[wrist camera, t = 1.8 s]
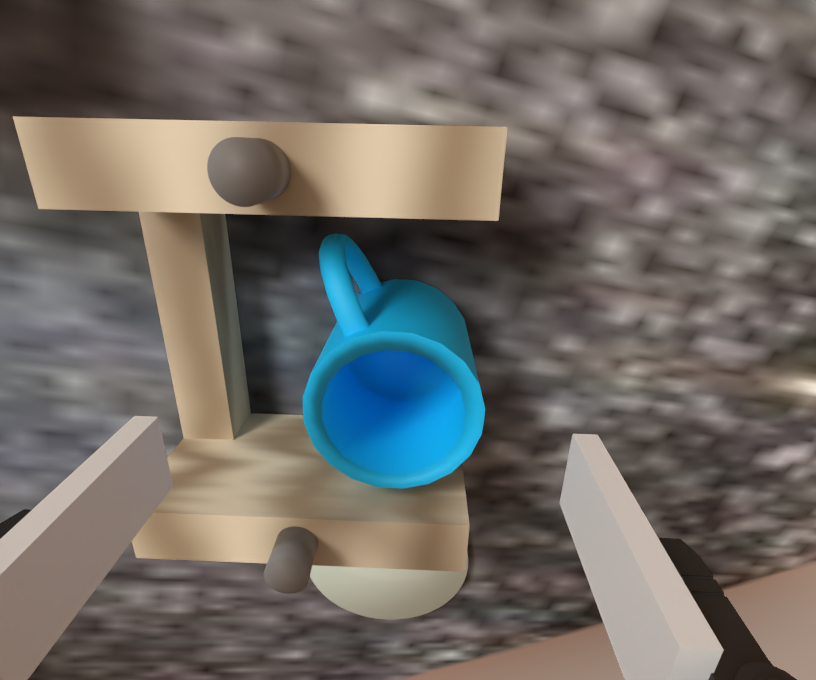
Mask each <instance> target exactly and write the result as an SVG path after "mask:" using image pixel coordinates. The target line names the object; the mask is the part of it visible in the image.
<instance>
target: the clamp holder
mask: <svg viewBox="0 0 816 680" xmlns="http://www.w3.org/2000/svg"><path fill="white" fill-rule="evenodd" d="M13 120H14V123H15V127H16V130H17V134H18V137H19V141H20V145H21V148H22V152H23V155H24V159H25V162H26V166H27V170H28V173H29V177H30V180H31V184H32V187H33V191H34V194H35V198H36V202H37V205H38V209H61V210H99V211H138V212H139V216H140V221H141V226H142V231H143V236H144V241H145V246H146V251H147V256H148V261H149V266H150V271H151V276H152V281H153V286H154V291H155V296H156V301H157V306H158V311H159V316H160V321H161V326H162V331H163V336H164V341H165V346H166V351H167V356H168V361H169V366H170V371H171V376H172V381H173V386H174V391H175V396H176V401H177V406H178V411H179V416H180V422H181V427H182V432H183V437H184V439H183V440H182V441H181V442H180V443H179V445H178V446H177V447H176V448H175V449H174V451H173V452H172V453H171V454H170V456H169V457H168V458H167V460H168V465H169V469H170V474H171V478H172V483H173V487H172V488H171V489H170V491H169V492H168V493H167V495H166V496H165V497H164V499H163V500H162V501H161V503H160V504H159V505H158V507H157V508H156V509H155V511H154V512H153V513H152V515H151V516H150V517H149V519H148V520H147V521H146V523H145V524H144V525H143V527H142V528H141V529H140V531H139V532H138V533H137V535H136V536H135V537H134V539H133V540H132V544H133V547H134V551H135V555H136V558H153V559H177V560H200V561H223V562H246V563H267V565H266V568H265V571H264V580H265V582H266V583H267V584H268V586H270V587H271V588H272V589H274V590H276V591H278V592H281V593H296V592H299V591H301V590H303V589H304V588H305V587H306V586H307V584H308V580H309V576H310V573H311V569H312V565H316V566H340V567H363V568H386V569H409V570H433V571H456V572H465V569H466V558H467V547H468V537H469V526H470V525H469V516H468V508H467V500H466V491H465V483H464V475H463V466H462V464H461V465H460V466H458V467H457V468H456V469H455V470H454V471H453V472H452V473H450V474H448V475H446V476H444V477H442V478H440V479H438V480H436V481H434V482H432V483H430V484H426V485H420V486H415V487H410V488H404V489H399V488H384V487H375V486H372V485H369V484H366V483H363V482H360V481H357V480H354V479H351V478H349V477H348V476H346V475H345V474H343V473H342V472H340V471H339V470H337V469H336V468H334V467H333V466H331V465H330V464H329V463H328V462H327V461H326V460H325V459H324V457H323V456H322V455H321V454H320V453H319V452H318V450H317V449H316V448H315V447H314V446H313V444H312V441H311V439H310V437H309V434H308V432H307V429H306V427H305V424H304V419H303V415H287V414H259V413H251V409H250V402H249V394H248V386H247V378H246V371H245V363H244V355H243V347H242V340H241V332H240V324H239V316H238V309H237V301H236V293H235V285H234V277H233V270H232V262H231V254H230V246H229V239H228V231H227V223H226V215H225V214H253V215H291V216H329V217H368V218H406V219H444V220H483V221H498V220H499V210H500V199H501V189H502V178H503V168H504V157H505V146H506V136H507V127H477V126H431V125H385V124H338V123H292V122H246V121H199V120H153V119H107V118H61V117H14V116H13Z"/></svg>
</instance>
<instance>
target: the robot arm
mask: <svg viewBox="0 0 816 680" xmlns="http://www.w3.org/2000/svg"><path fill="white" fill-rule="evenodd" d="M172 487H173V483H172V478H171V474H170V469H169V465H168V460H167V455H166V451H165V446H164V442H163V437H162V433H161V428H160V424H159V419H158V417H147V416H134V417H133V418H132V419H131V420H129V421H128V422H127V423H126V424H125V425H124V426H123V427H122V428H121V429H120V430H119V431H118V432H116V433H115V434H114V435H113V436H112V437H111V438H110V439H109V440H108V441H107V442H106V443H104V444H103V445H102V446H101V447H100V448H99V449H98V450H97V451H96V452H95V453H94V454H92V455H91V456H90V457H89V458H88V459H87V460H86V461H85V462H84V463H83V464H82V465H80V466H79V467H78V468H77V469H76V470H75V471H74V472H73V473H72V474H71V475H70V476H68V477H67V478H66V479H65V480H64V481H63V482H62V483H61V484H60V485H59V486H58V487H56V488H55V489H54V490H53V491H52V492H51V493H50V494H49V495H48V496H47V497H46V498H45V499H43V500H42V501H41V502H40V503H39V504H38V505H37V506H36V507H35V508H34V509H33V510H26V509H24V510H22V511H21V512H19V513H17V514H15V515H14V516H12V517H10V518H9V519H7V520H5V521H4V522H2V523H0V680H28V678H29V677H30V676H31V674H32V673H33V672H34V670H35V669H36V668H37V667H38V665H39V664H40V663H41V661H42V660H43V659H44V657H45V656H46V655H47V653H48V652H49V651H50V649H51V648H52V647H53V645H54V644H55V643H56V641H57V640H58V639H59V637H60V636H61V635H62V633H63V632H64V631H65V629H66V628H67V627H68V625H69V624H70V623H71V621H72V620H73V619H74V617H75V616H76V615H77V613H78V612H79V611H80V609H81V608H82V607H83V605H84V604H85V603H86V601H87V600H88V599H89V597H90V596H91V595H92V593H93V592H94V591H95V589H96V588H97V587H98V585H99V584H100V583H101V581H102V580H103V579H104V577H105V576H106V575H107V573H108V572H109V571H110V569H111V568H112V567H113V565H114V564H115V563H116V561H117V560H118V559H119V557H120V556H121V555H122V553H123V552H124V551H125V549H126V548H127V547H128V545H129V544H130V543H131V541H132V540H133V539H134V537H135V536H136V535H137V533H138V532H139V531H140V529H141V528H142V527H143V525H144V524H145V523H146V521H147V520H148V519H149V517H150V516H151V515H152V513H153V512H154V511H155V509H156V508H157V507H158V505H159V504H160V503H161V501H162V500H163V499H164V497H165V496H166V495H167V493H168V492H169V491H170V489H171V488H172ZM560 506H561V509H562V511H563V514H564V517H565V519H566V522H567V525H568V528H569V530H570V533H571V536H572V538H573V541H574V544H575V547H576V549H577V552H578V555H579V558H580V560H581V563H582V566H583V568H584V571H585V574H586V577H587V579H588V582H589V585H590V588H591V590H592V593H593V596H594V598H595V601H596V604H597V607H598V609H599V612H600V615H601V617H602V620H603V623H604V626H605V628H606V631H607V634H608V637H609V639H610V642H611V645H612V647H613V650H614V653H615V656H616V658H617V661H618V664H619V666H620V669H621V672H622V675H623V677H624V680H797V679H795V678H794V677H792V676H791V675H790V674H788V673H787V672H785V671H783V670H781V669H778V668H777V667H774V666H773V665H772V664H771V663H770V661H769V660H768V659H767V657H766V655H765V654H764V653H763V651H762V650H761V648H760V646H759V645H758V643H757V642H756V640H755V639H754V637H753V636H752V634H751V633H750V631H749V630H748V628H747V627H746V625H745V624H744V622H743V621H742V619H741V618H740V616H739V615H738V613H737V612H736V610H735V609H734V607H733V606H732V604H731V603H730V601H729V600H728V598H727V597H725V596H724V592H723V591H722V589H721V587H720V586H719V584H718V583H717V581H716V580H714V579H713V575H712V574H711V572H710V571H709V569H708V568H707V566H706V565H705V563H704V562H703V560H702V559H701V557H700V556H699V555H698V554H697V553H696V552H694V551H693V550H692V549H691V548H690V547H689V546H688V545H686V544H685V543H684V542H683V541H682V540H681V539H670V538H658V537H657V535H656V534H655V532H654V530H653V528H652V527H651V525H650V523H649V522H648V520H647V518H646V516H645V515H644V513H643V511H642V510H641V508H640V506H639V505H638V503H637V501H636V499H635V498H634V496H633V494H632V493H631V491H630V489H629V487H628V486H627V484H626V482H625V481H624V479H623V477H622V476H621V474H620V472H619V470H618V469H617V467H616V465H615V464H614V462H613V460H612V458H611V457H610V455H609V453H608V452H607V450H606V448H605V447H604V445H603V443H602V441H601V440H600V438H599V436H598V435H591V434H573V435H572V440H571V445H570V451H569V456H568V461H567V467H566V472H565V477H564V482H563V488H562V493H561V498H560Z"/></svg>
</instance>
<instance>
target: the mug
mask: <svg viewBox="0 0 816 680" xmlns="http://www.w3.org/2000/svg"><path fill="white" fill-rule="evenodd" d="M319 261H320V270H321V275H322V278H323V282H324V285H325V289H326V293H327V296H328V299H329V301H330V304H331V306H332V309H333V312H334V314H335V317H336V319H337V323H336V325H335V327H334V328H333V330H332V332H331V334H330V336H329V338H328V340H327V342H326V344H325V346H324V348H323V350H322V352H321V354H320V356H319V358H318V360H317V362H316V364H315V366H314V368H313V370H312V372H311V375H310V378H309V381H308V383H307V386H306V389H305V392H304V395H303V419H304V424H305V427H306V429H307V432H308V434H309V437H310V439H311V441H312V444H313V446H314V447H315V448H316V449H317V450H318V452H319V453H320V454H321V455H322V456H323V457H324V459H325V460H326V461H327V462H328V463H329V464H330V465H331V466H333V467H334V468H336V469H337V470H339V471H340V472H342V473H343V474H345V475H346V476H348V477H349V478H351V479H354V480H357V481H360V482H363V483H366V484H369V485H372V486H375V487H384V488H399V489H404V488H410V487H415V486H420V485H426V484H430V483H432V482H434V481H436V480H438V479H440V478H442V477H444V476H446V475H448V474H450V473H452V472H453V471H454V470H455V469H456V468H457V467H458V466H460V465H461V464H462V463H463V462H464V461H465V460H466V459H467V458H468V457H469V456H470V455H471V453H472V451H473V450H474V448H475V446H476V444H477V442H478V440H479V438H480V437H481V435H482V430H483V423H484V416H485V406H484V401H483V397H482V393H481V388H480V384H479V380H478V375H477V371H476V367H475V362H474V358H473V354H472V349H471V345H470V341H469V337H468V332H467V328H466V324H465V319H464V318H463V316H462V315H461V313H460V311H459V310H458V308H457V307H456V305H455V303H454V302H453V301H452V300H451V299H449V298H448V297H447V296H446V295H444V294H443V293H442V292H441V291H439V290H438V289H437V288H435V287H432V286H429V285H427V284H424V283H422V282H419V281H417V280H402V279H392V280H388V281H384V282H380V281H379V279H378V277H377V275H376V273H375V272H374V270H373V268H372V267H371V265H370V263H369V261H368V260H367V258H366V257H365V255H364V254H363V252H362V251H361V250H360V248H359V247H358V245H357V244H356V243H355V242H354V241H353V240H352V239H351V238H350V237H349V236H347V235H345V234H330V235H328V236H326V237H325V238H324V239H323V241H322V244H321V247H320V250H319ZM349 272H350V274H351V276H352V277H353V279H354V280H355V282H356V283H357V285H358V287H359V289H360V291H361V292H360V293H358V294H357V295H356V292H355V290H354V287H353V284H352V280H351V277H350V274H349Z"/></svg>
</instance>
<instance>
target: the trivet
mask: <svg viewBox="0 0 816 680" xmlns="http://www.w3.org/2000/svg"><path fill="white" fill-rule="evenodd" d="M467 570H468V553H467V558H466V569H465V572H456V571H433V570H409V569H386V568H363V567H340V566H316V565H312V569H311V573H310V577H311V579H312V581H313V583H314V584H315V585H316V587H317V588H318V589H319V590H320V591H321V592H322V593H323V595H324V596H326V597H327V598H328V599H329V600H331V601H332V602H333V603H335V604H337V605H338V606H340V607H342V608H344V609H346V610H348V611H350V612H353V613H356V614H359V615H362V616H366V617H371V618H376V619H406V618H412V617H416V616H420V615H423V614H426V613H429V612H431V611H433V610H435V609H437V608H439V607H441V606H442V605H444V604H445V603H447V602H448V601H449V600H450V599H451V598H452V597H453V596H455V594H456V593H457V592H458V591H459V589H460V588H461V586H462V584H463V583H464V580H465V578H466V575H467Z"/></svg>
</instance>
